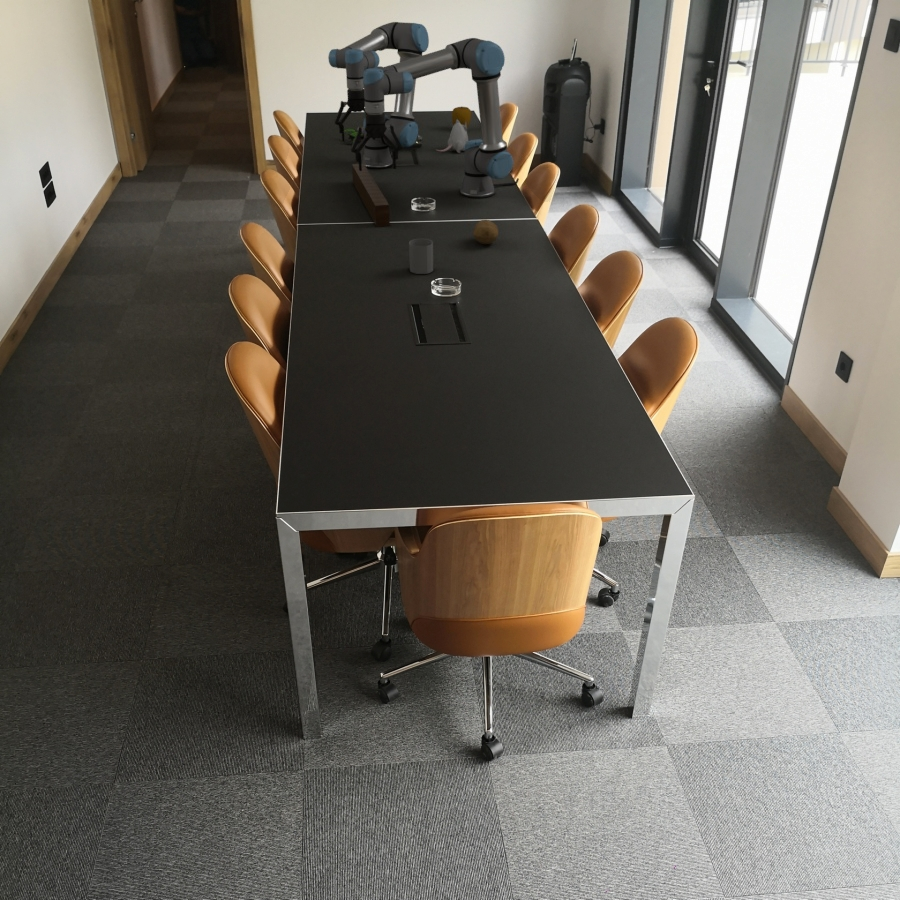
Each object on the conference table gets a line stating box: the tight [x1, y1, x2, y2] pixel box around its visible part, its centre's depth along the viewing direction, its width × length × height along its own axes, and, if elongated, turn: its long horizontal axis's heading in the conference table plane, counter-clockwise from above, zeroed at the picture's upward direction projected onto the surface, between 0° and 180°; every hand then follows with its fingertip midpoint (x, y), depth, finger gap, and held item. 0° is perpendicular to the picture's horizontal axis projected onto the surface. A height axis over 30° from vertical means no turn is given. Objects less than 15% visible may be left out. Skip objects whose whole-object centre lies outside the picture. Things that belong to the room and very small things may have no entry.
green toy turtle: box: [338, 128, 364, 145], centre depth 467 cm, size 6×13×30 cm
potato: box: [472, 219, 499, 245], centre depth 330 cm, size 10×14×8 cm
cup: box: [408, 237, 434, 275], centre depth 305 cm, size 8×8×10 cm
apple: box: [451, 105, 472, 129], centre depth 487 cm, size 11×11×13 cm
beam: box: [351, 163, 391, 228], centre depth 373 cm, size 65×6×9 cm, turn 14°
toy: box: [436, 120, 469, 154], centre depth 444 cm, size 9×24×15 cm, turn 137°
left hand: (358, 140), depth 385 cm, fingers open, 13 cm apart
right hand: (377, 169), depth 344 cm, fingers open, 13 cm apart
